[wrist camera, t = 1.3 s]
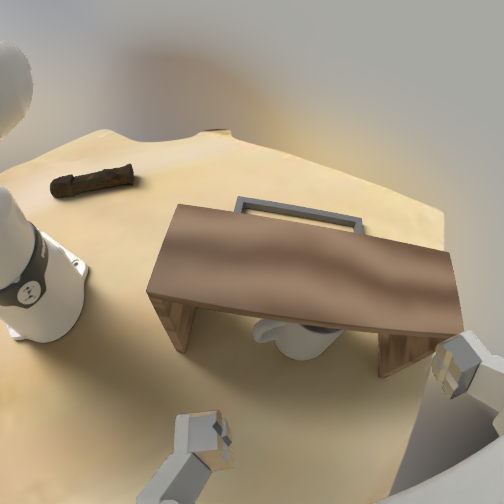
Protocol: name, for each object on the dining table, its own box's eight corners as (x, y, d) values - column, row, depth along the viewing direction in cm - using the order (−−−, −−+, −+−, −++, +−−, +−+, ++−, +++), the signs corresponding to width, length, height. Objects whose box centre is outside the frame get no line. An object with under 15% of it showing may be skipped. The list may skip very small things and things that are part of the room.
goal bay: (364, 300, 46) (367, 296, 45) (219, 278, 47) (219, 273, 45) (359, 223, 55) (361, 218, 54) (237, 201, 56) (237, 196, 55)
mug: (316, 300, 46) (338, 261, 37) (337, 350, 41) (368, 322, 32) (240, 320, 43) (245, 285, 34) (259, 376, 39) (270, 356, 30)
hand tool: (135, 174, 59) (131, 157, 55) (134, 187, 57) (129, 170, 53) (56, 189, 56) (49, 173, 52) (52, 202, 53) (44, 186, 50)
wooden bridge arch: (385, 377, 39) (464, 334, 24) (176, 350, 40) (145, 291, 24) (384, 317, 45) (449, 252, 30) (192, 288, 45) (178, 203, 30)
